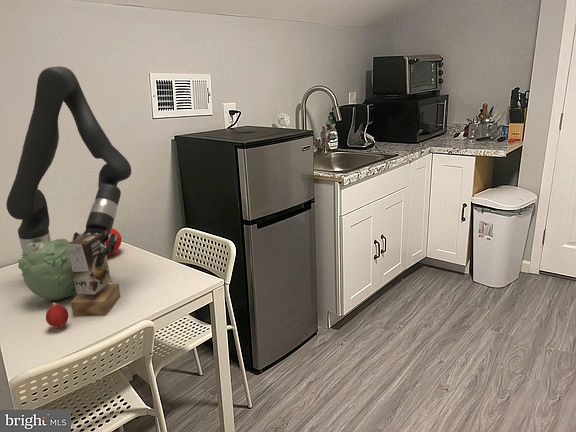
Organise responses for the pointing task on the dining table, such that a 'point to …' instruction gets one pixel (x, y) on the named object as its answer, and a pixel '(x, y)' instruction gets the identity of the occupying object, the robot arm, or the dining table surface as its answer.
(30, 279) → the cabbage
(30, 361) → the dining table surface
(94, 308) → the walnut box
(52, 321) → the onion
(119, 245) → the tomato
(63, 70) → the robot arm
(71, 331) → the dining table surface
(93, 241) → the coffee box
